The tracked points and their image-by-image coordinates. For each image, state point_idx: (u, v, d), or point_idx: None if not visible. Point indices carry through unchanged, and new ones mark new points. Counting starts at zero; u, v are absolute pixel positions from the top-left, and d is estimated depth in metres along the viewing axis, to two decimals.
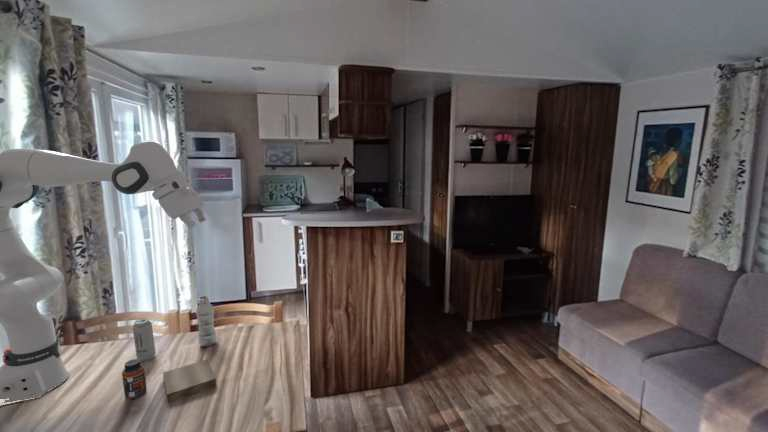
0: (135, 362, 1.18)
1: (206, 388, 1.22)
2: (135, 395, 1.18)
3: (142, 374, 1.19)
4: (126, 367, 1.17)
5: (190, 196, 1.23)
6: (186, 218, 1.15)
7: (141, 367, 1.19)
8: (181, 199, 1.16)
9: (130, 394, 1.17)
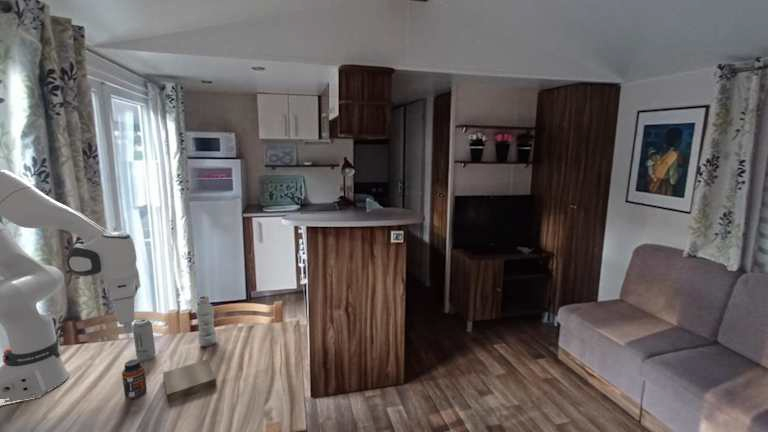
0: (135, 362, 1.18)
1: (206, 388, 1.22)
2: (135, 395, 1.18)
3: (142, 374, 1.19)
4: (126, 367, 1.17)
5: None
6: (129, 323, 1.11)
7: (141, 367, 1.19)
8: None
9: (130, 394, 1.17)
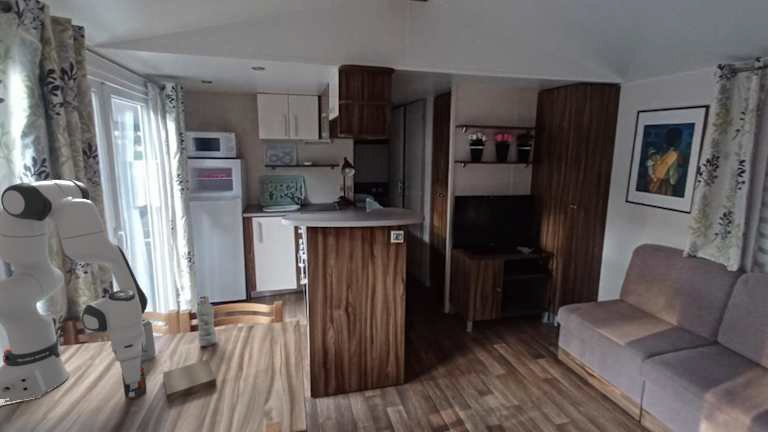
0: None
1: (206, 388, 1.22)
2: (135, 395, 1.18)
3: (142, 374, 1.19)
4: None
5: None
6: None
7: (141, 367, 1.19)
8: None
9: (130, 394, 1.17)
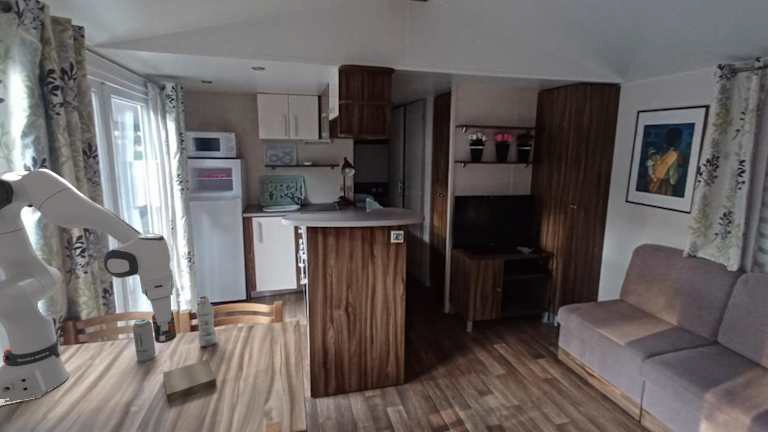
0: None
1: (206, 388, 1.22)
2: (165, 339, 1.18)
3: (172, 318, 1.19)
4: None
5: None
6: (166, 321, 1.15)
7: None
8: None
9: (161, 337, 1.17)
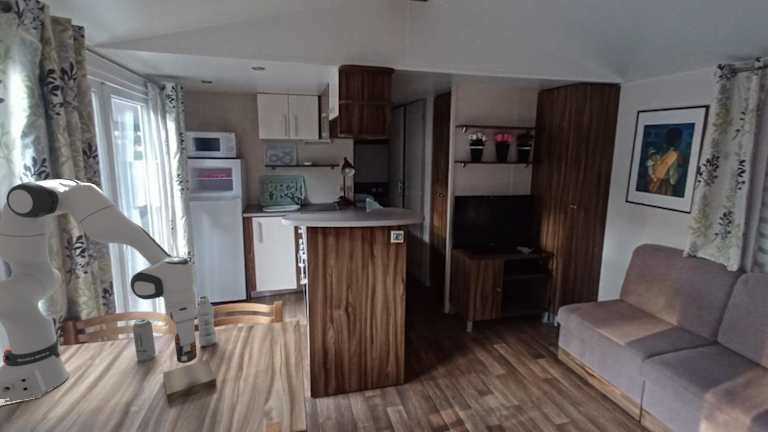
0: None
1: (206, 388, 1.22)
2: (187, 359, 1.21)
3: None
4: None
5: None
6: None
7: None
8: None
9: (183, 358, 1.21)
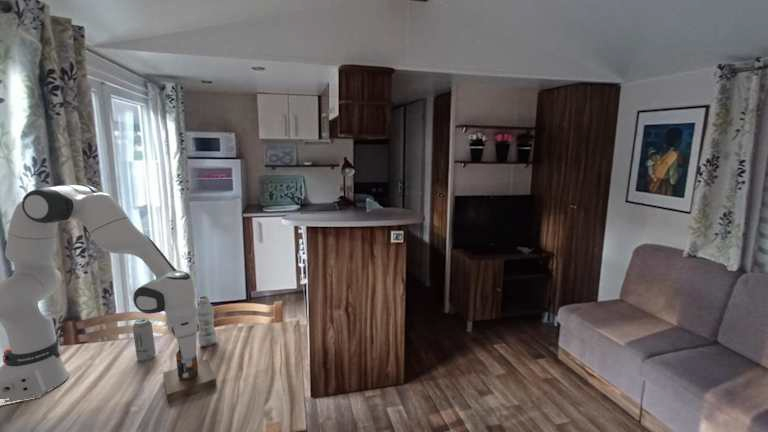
0: None
1: (206, 388, 1.22)
2: (188, 376, 1.22)
3: (195, 356, 1.24)
4: None
5: None
6: (190, 358, 1.19)
7: None
8: None
9: (184, 375, 1.22)
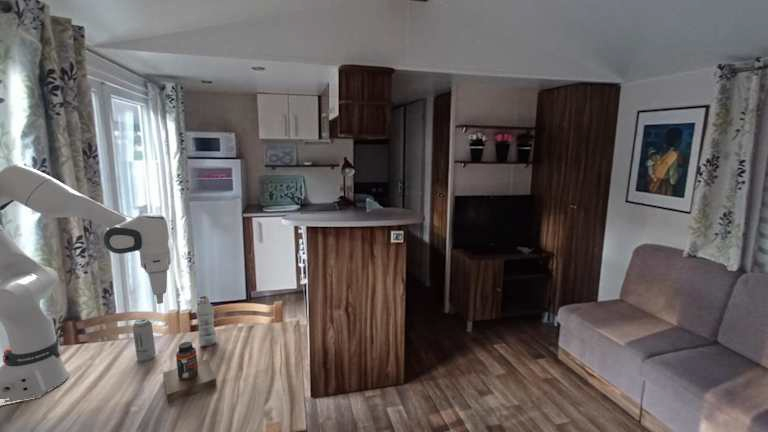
0: (188, 344, 1.23)
1: (206, 388, 1.22)
2: (188, 376, 1.22)
3: (195, 356, 1.24)
4: (180, 349, 1.21)
5: None
6: (161, 295, 1.25)
7: (193, 349, 1.24)
8: None
9: (184, 375, 1.22)
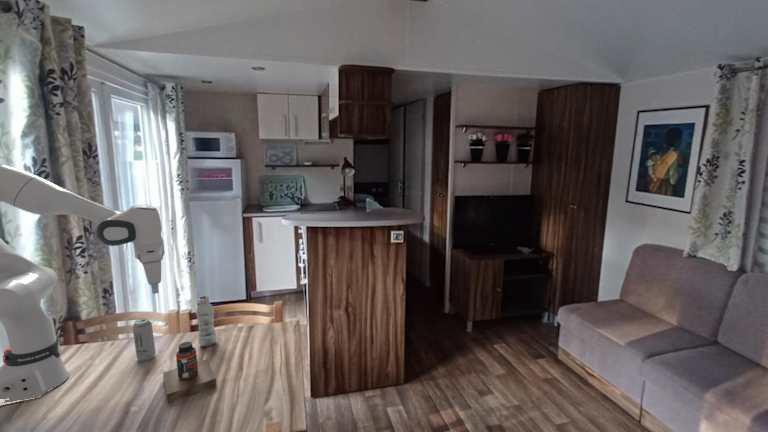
0: (188, 344, 1.23)
1: (206, 388, 1.22)
2: (188, 376, 1.22)
3: (195, 356, 1.24)
4: (180, 349, 1.21)
5: None
6: (156, 285, 1.27)
7: (193, 349, 1.24)
8: None
9: (184, 375, 1.22)
